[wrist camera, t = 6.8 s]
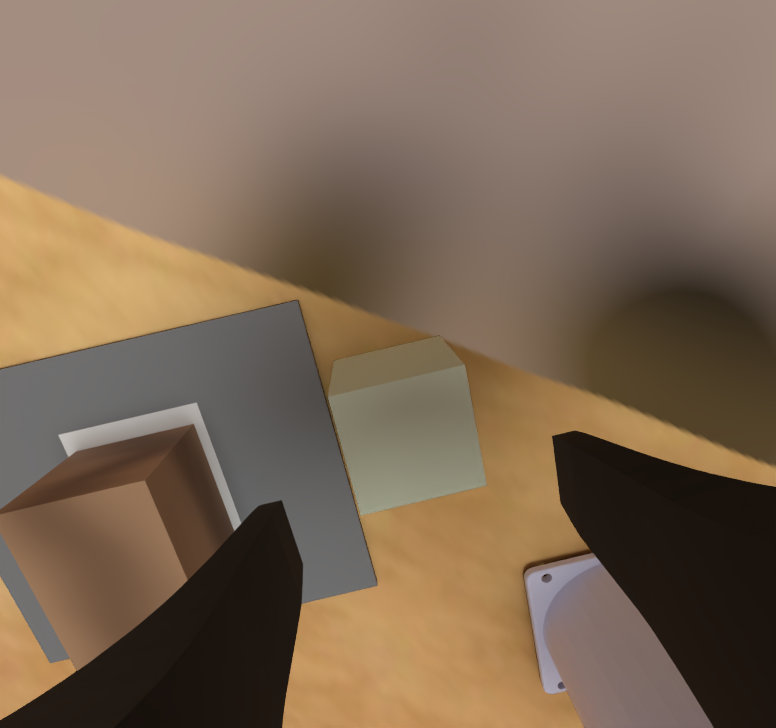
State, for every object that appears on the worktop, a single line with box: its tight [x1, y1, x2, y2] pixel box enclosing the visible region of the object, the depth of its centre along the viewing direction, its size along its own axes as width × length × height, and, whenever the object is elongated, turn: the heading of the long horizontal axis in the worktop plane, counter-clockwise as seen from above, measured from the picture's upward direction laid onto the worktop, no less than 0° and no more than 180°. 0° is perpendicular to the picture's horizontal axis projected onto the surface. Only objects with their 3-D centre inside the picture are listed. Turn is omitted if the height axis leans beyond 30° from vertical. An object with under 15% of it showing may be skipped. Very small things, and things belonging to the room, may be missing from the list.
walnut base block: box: [0, 424, 234, 671], centre depth 17 cm, size 5×7×4 cm
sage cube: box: [328, 335, 487, 515], centre depth 17 cm, size 4×4×4 cm
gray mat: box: [0, 300, 377, 663], centre depth 20 cm, size 16×14×1 cm
